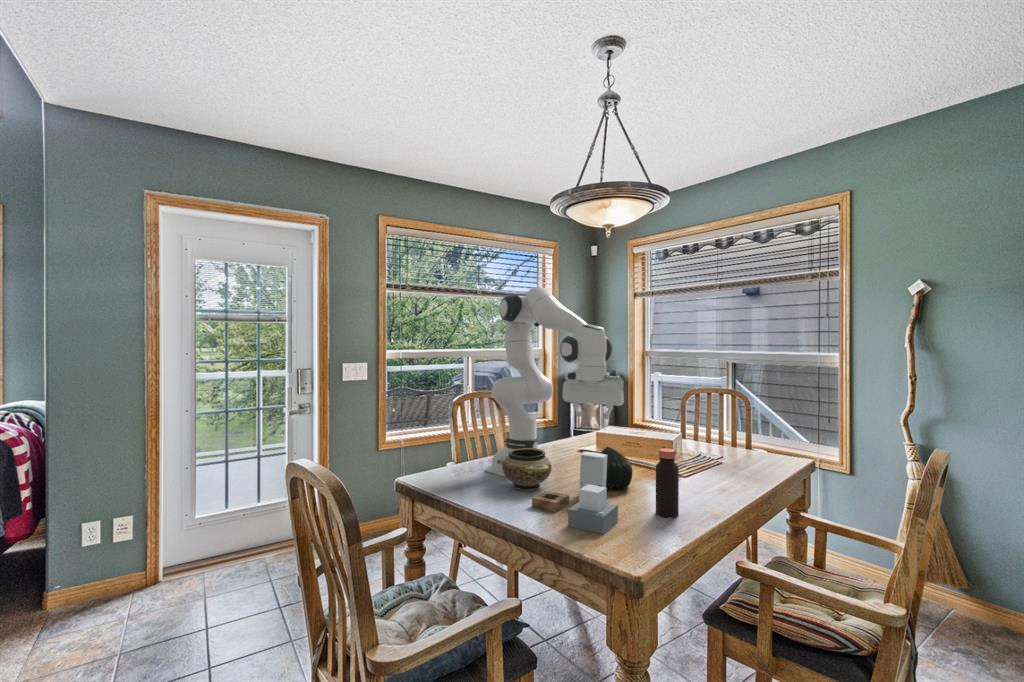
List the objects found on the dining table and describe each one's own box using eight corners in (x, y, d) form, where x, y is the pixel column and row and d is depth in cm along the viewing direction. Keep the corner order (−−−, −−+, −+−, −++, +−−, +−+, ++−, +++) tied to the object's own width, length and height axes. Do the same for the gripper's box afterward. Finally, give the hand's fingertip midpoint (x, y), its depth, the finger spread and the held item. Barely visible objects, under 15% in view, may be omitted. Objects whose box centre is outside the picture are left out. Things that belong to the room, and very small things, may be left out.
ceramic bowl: (498, 486, 189) (488, 450, 188) (537, 470, 196) (529, 435, 194) (524, 507, 167) (514, 466, 165) (568, 488, 174) (559, 448, 172)
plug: (579, 523, 144) (579, 489, 144) (587, 517, 149) (587, 484, 149) (598, 527, 141) (598, 492, 141) (606, 521, 146) (606, 487, 146)
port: (568, 526, 143) (568, 507, 143) (583, 514, 152) (584, 497, 152) (603, 534, 137) (603, 515, 137) (617, 521, 146) (617, 503, 146)
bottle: (660, 508, 158) (661, 446, 157) (681, 513, 153) (682, 449, 153) (652, 514, 152) (652, 450, 152) (673, 519, 148) (673, 453, 148)
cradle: (531, 507, 159) (531, 497, 159) (545, 499, 167) (545, 490, 167) (556, 512, 154) (556, 502, 154) (569, 504, 162) (569, 495, 162)
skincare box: (579, 497, 169) (579, 454, 168) (583, 492, 174) (584, 450, 174) (603, 501, 165) (603, 456, 165) (607, 495, 171) (607, 453, 170)
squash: (629, 481, 169) (630, 442, 178) (586, 479, 174) (589, 441, 183) (633, 499, 179) (634, 461, 188) (592, 496, 184) (595, 460, 193)
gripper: (627, 375, 156) (626, 419, 156) (568, 372, 167) (568, 413, 167) (620, 376, 150) (619, 422, 150) (560, 374, 161) (560, 416, 161)
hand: (592, 417), depth 159 cm, fingers open, 8 cm apart
